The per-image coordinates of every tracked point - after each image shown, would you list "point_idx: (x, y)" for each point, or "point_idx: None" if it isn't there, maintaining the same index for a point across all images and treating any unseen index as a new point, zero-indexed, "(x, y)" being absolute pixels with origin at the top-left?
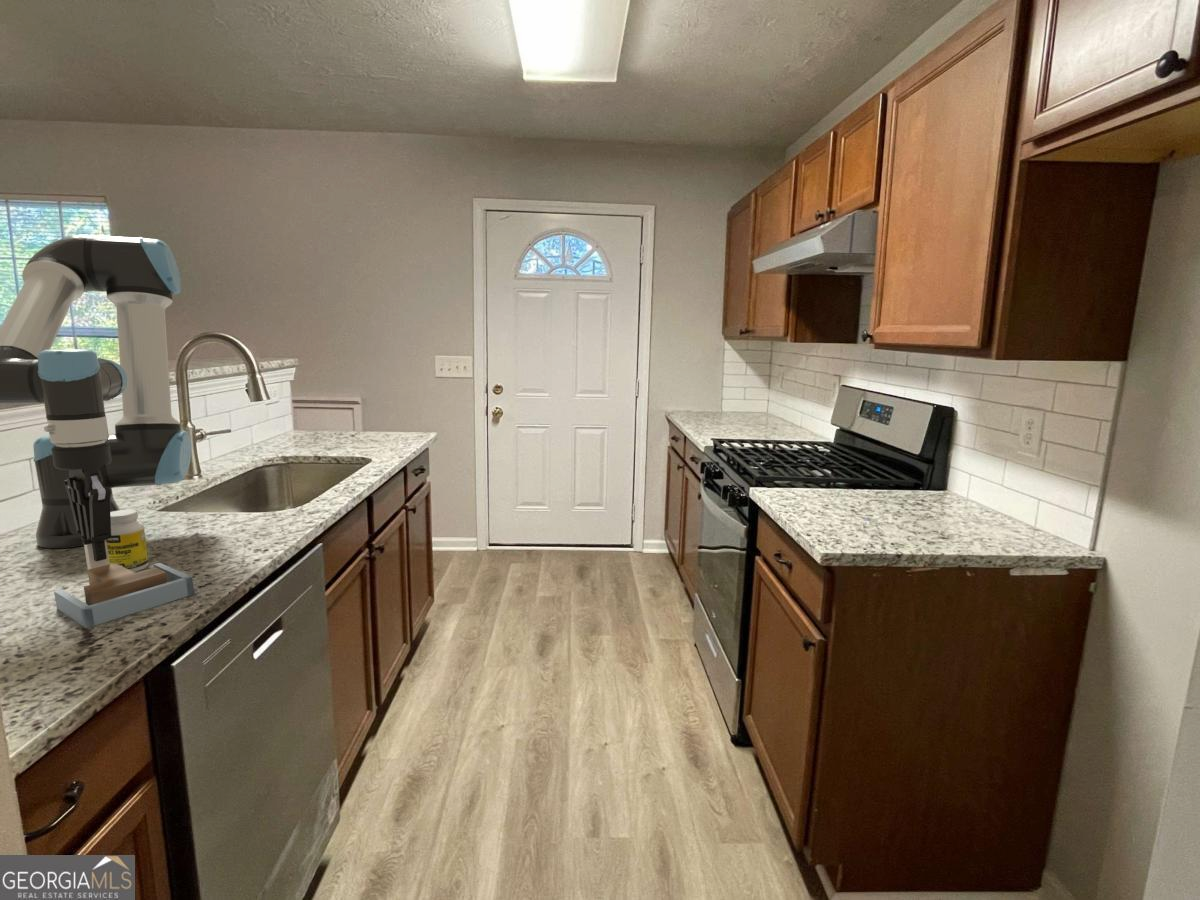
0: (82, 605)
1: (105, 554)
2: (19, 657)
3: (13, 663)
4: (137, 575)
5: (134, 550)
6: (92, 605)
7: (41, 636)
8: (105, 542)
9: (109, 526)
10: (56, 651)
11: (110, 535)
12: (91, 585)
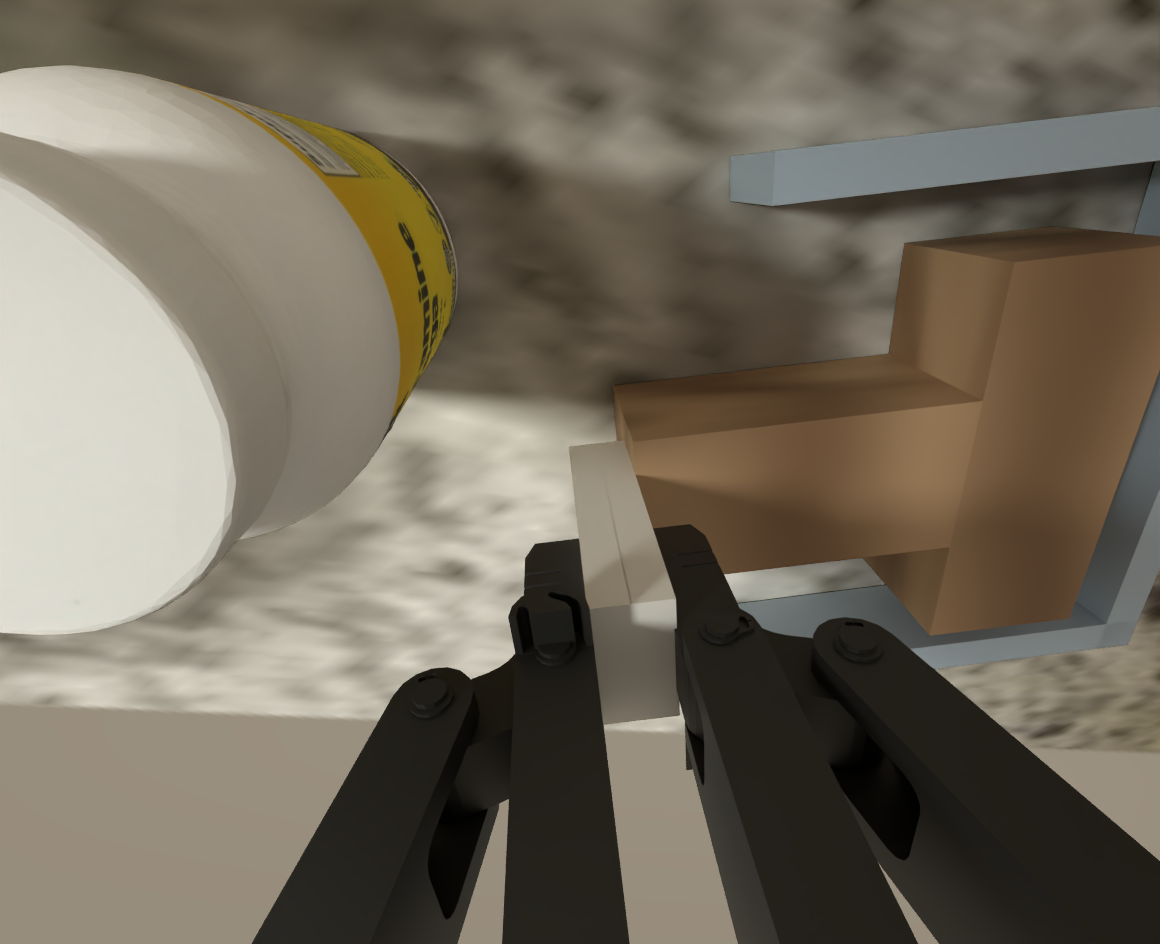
0: (1073, 640)
1: (711, 550)
2: (1063, 732)
3: (1088, 743)
4: (1054, 404)
5: (432, 264)
6: (1122, 615)
7: (963, 684)
8: (669, 587)
9: (1011, 750)
10: (1138, 668)
11: (900, 647)
12: (950, 609)
